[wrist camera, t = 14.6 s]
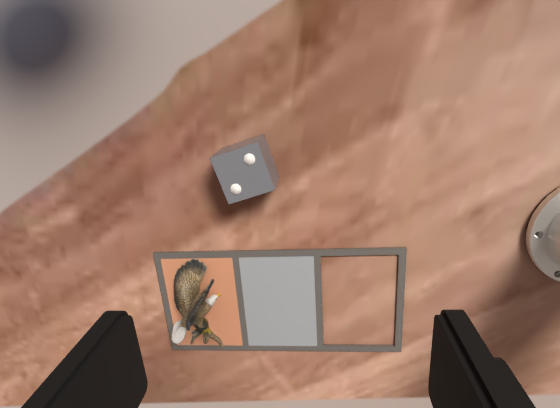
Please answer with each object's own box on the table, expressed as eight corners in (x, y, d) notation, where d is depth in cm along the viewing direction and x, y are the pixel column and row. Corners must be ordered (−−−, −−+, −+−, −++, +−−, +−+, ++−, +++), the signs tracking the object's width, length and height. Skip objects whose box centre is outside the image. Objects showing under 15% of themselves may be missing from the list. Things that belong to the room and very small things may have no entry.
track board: (406, 247, 42) (406, 248, 42) (400, 350, 47) (401, 351, 47) (154, 252, 46) (153, 253, 45) (173, 348, 50) (172, 349, 50)
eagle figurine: (245, 324, 46) (230, 268, 42) (204, 367, 42) (182, 310, 37) (204, 303, 51) (186, 250, 46) (163, 340, 46) (138, 286, 42)
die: (264, 133, 40) (257, 142, 35) (279, 176, 41) (275, 190, 36) (221, 148, 41) (209, 158, 36) (238, 189, 42) (228, 204, 37)
